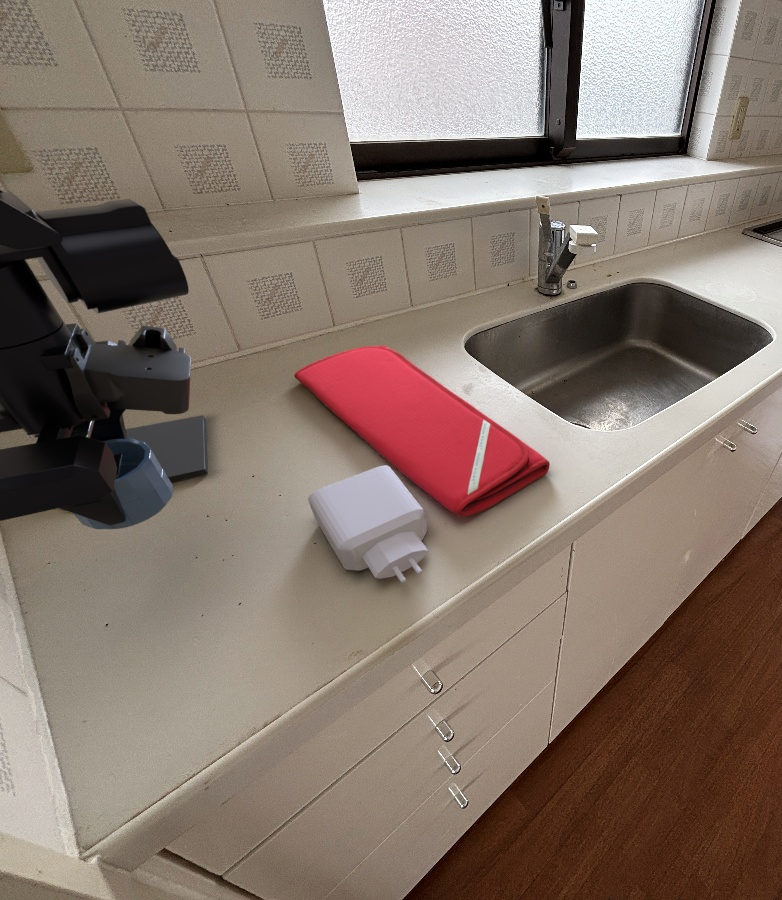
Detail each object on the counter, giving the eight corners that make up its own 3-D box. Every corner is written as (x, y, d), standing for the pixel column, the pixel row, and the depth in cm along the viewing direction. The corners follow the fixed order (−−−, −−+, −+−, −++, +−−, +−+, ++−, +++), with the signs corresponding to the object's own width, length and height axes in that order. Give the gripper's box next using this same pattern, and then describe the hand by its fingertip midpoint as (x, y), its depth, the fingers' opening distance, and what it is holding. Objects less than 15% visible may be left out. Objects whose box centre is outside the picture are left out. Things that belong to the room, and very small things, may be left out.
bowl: (76, 543, 40) (38, 500, 37) (88, 492, 44) (55, 449, 41) (174, 519, 43) (147, 477, 40) (177, 473, 47) (152, 431, 44)
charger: (370, 615, 49) (316, 522, 57) (455, 569, 54) (394, 490, 62) (361, 587, 46) (305, 493, 54) (451, 541, 51) (388, 462, 59)
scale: (70, 505, 55) (57, 489, 53) (84, 442, 62) (73, 427, 61) (207, 474, 61) (199, 459, 59) (206, 420, 68) (198, 405, 66)
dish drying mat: (388, 352, 87) (385, 333, 84) (552, 471, 68) (554, 450, 66) (295, 383, 77) (288, 362, 75) (456, 531, 58) (454, 509, 56)
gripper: (147, 379, 31) (236, 542, 41) (165, 269, 42) (231, 416, 52) (-125, 418, 26) (52, 593, 36) (-20, 281, 37) (92, 441, 47)
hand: (122, 495), depth 43 cm, fingers closed on bowl, 6 cm apart
